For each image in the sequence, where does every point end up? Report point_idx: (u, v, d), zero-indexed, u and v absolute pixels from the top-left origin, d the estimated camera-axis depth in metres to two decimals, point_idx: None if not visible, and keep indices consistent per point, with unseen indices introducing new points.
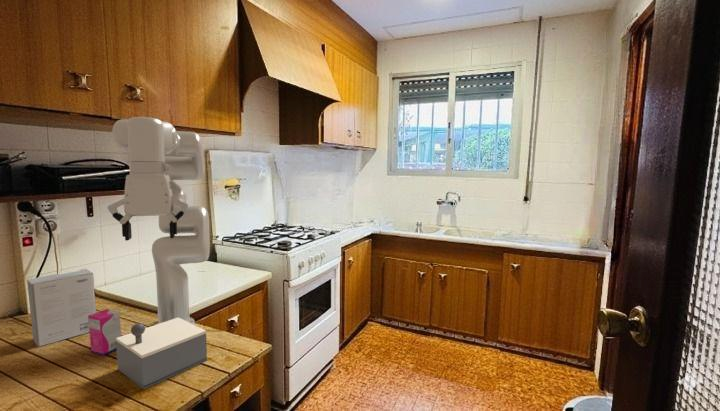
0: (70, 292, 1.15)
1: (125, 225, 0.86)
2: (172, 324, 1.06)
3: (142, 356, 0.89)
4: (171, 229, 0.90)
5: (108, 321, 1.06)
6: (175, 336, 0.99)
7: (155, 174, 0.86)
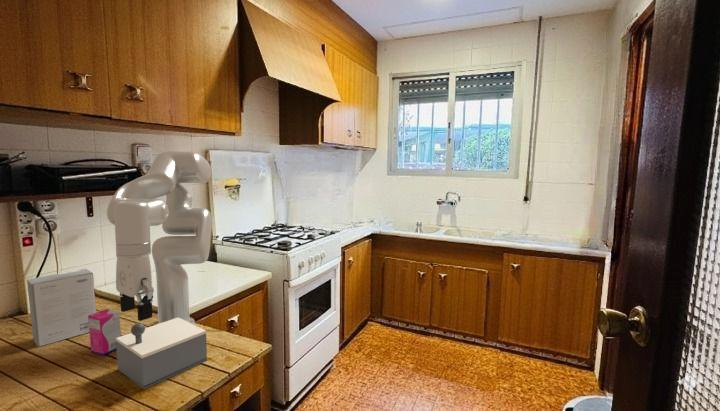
0: (70, 292, 1.15)
1: None
2: (172, 324, 1.06)
3: (142, 356, 0.89)
4: None
5: (108, 321, 1.06)
6: (175, 336, 0.99)
7: None
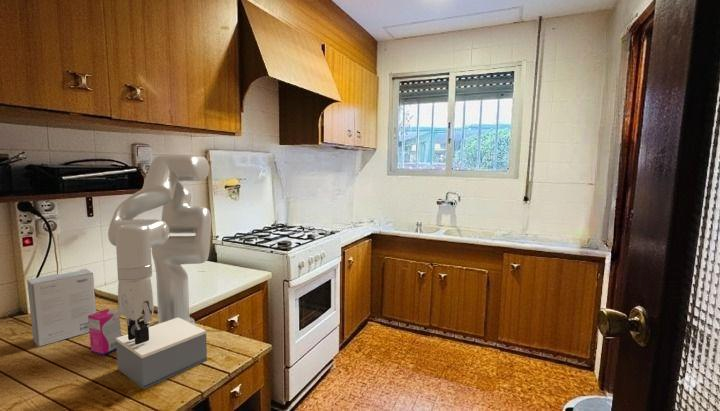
0: (70, 292, 1.15)
1: None
2: (172, 325, 1.06)
3: (142, 356, 0.89)
4: None
5: (108, 321, 1.06)
6: (175, 336, 0.99)
7: None
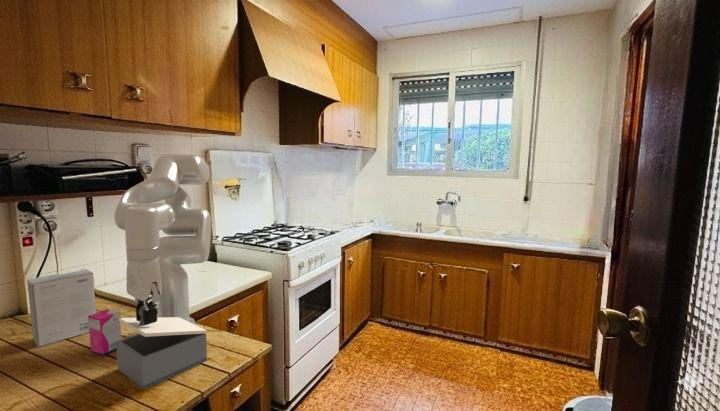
0: (70, 292, 1.15)
1: None
2: (173, 320, 1.06)
3: (145, 334, 0.89)
4: None
5: (108, 321, 1.06)
6: (177, 328, 0.99)
7: None
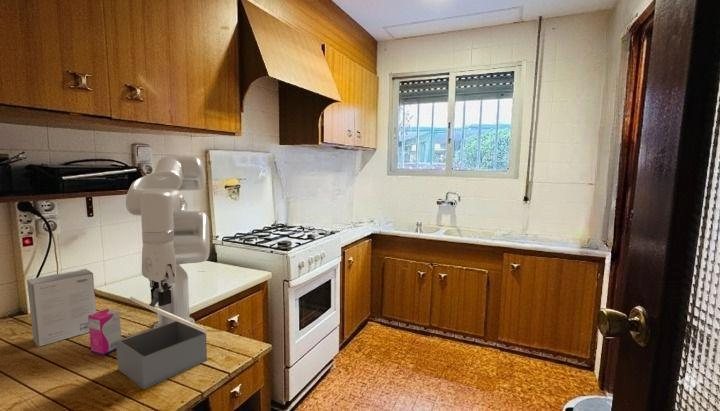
0: (70, 292, 1.15)
1: None
2: None
3: (157, 310, 0.91)
4: None
5: (108, 321, 1.06)
6: (182, 319, 1.00)
7: None
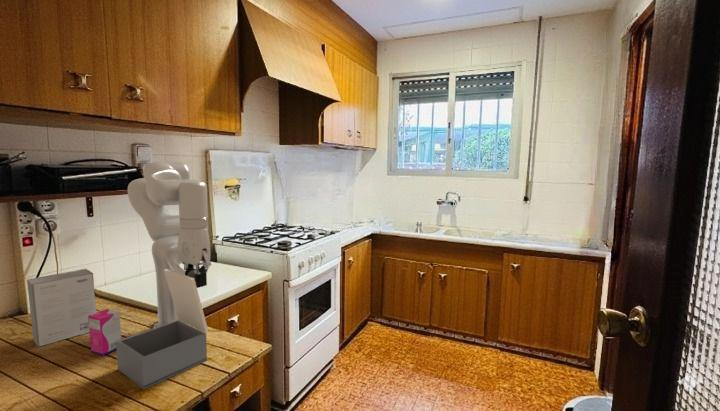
0: (70, 292, 1.15)
1: None
2: None
3: (192, 279, 0.98)
4: None
5: (108, 321, 1.06)
6: None
7: None
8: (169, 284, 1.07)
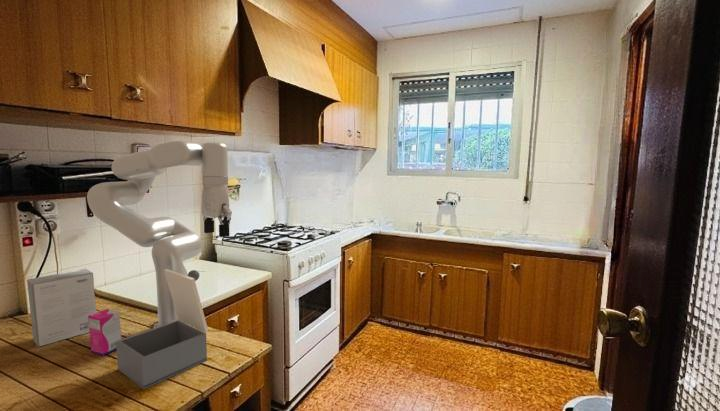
0: (70, 292, 1.15)
1: None
2: None
3: (192, 279, 0.98)
4: None
5: (108, 321, 1.06)
6: None
7: None
8: (169, 284, 1.07)
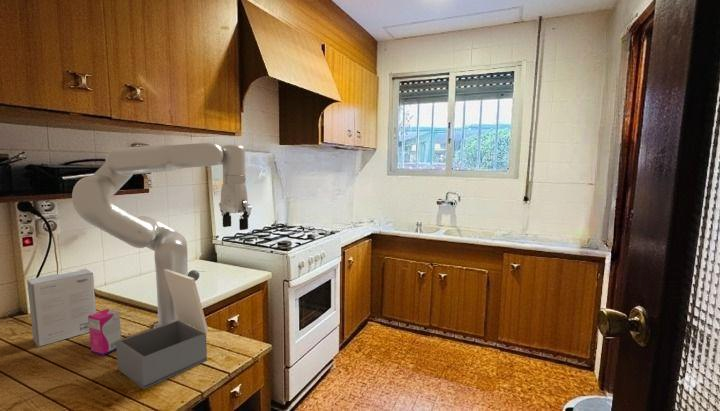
0: (70, 292, 1.15)
1: None
2: None
3: (192, 279, 0.98)
4: None
5: (108, 321, 1.06)
6: None
7: None
8: (169, 284, 1.07)
